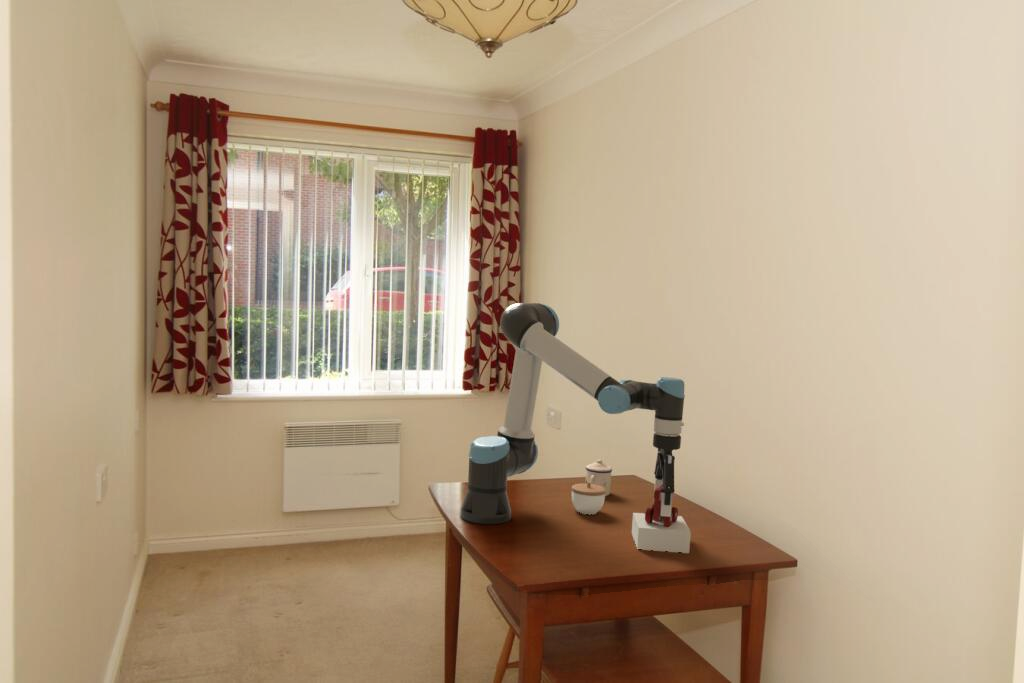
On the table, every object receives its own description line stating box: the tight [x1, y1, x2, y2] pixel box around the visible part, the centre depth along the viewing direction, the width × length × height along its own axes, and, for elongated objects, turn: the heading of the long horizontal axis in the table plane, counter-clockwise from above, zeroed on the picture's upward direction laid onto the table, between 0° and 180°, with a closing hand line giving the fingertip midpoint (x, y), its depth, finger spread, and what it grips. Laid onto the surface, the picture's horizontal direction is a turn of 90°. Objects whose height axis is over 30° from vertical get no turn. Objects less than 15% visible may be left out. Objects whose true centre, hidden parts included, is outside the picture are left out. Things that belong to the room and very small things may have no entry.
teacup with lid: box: [584, 459, 613, 497], centre depth 257 cm, size 12×9×12 cm
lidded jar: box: [571, 482, 606, 516], centre depth 235 cm, size 11×11×9 cm
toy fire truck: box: [645, 484, 679, 527], centre depth 209 cm, size 7×12×10 cm, turn 152°
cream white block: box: [631, 512, 692, 554], centre depth 210 cm, size 14×14×6 cm
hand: (661, 509), depth 209 cm, fingers open, 13 cm apart
